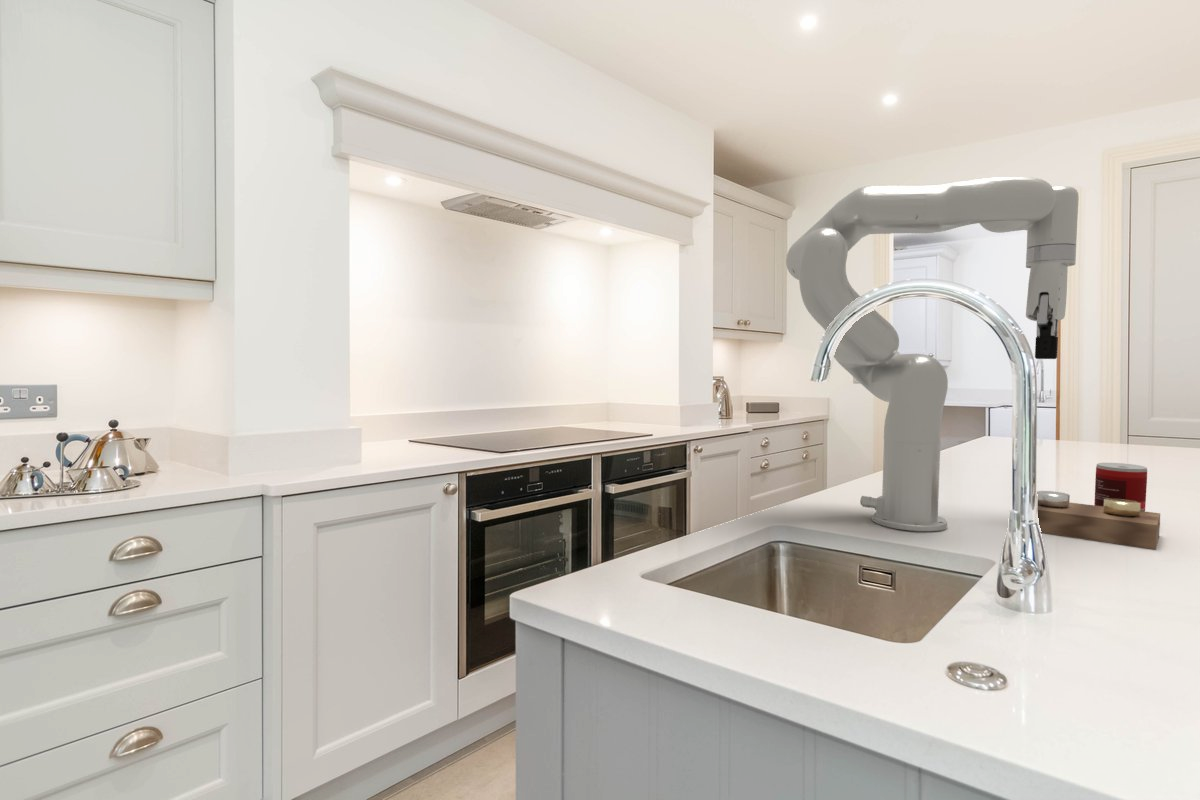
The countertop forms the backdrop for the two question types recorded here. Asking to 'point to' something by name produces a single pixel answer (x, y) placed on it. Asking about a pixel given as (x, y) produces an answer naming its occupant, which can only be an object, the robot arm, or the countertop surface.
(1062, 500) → the steel button
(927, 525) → the robot arm
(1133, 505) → the brass button
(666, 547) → the countertop surface
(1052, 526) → the button block
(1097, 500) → the canned food
